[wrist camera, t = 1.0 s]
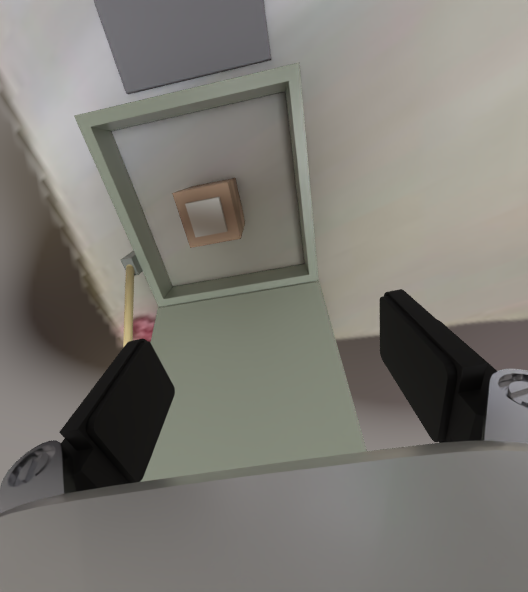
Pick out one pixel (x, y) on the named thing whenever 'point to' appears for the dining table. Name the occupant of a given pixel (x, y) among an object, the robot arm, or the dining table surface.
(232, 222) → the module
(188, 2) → the mat
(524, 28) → the dining table surface
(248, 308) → the case
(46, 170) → the dining table surface
